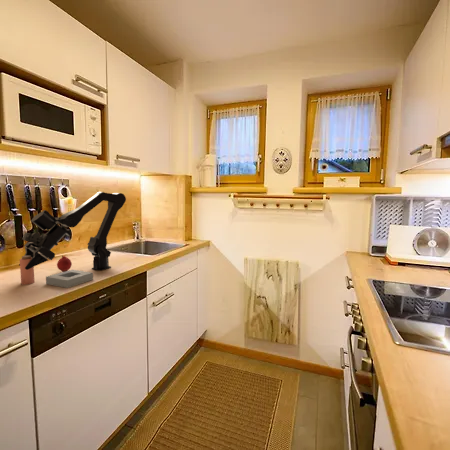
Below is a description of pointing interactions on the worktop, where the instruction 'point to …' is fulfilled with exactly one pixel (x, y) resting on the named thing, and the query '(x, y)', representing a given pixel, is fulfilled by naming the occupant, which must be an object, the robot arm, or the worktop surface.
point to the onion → (64, 264)
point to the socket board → (69, 278)
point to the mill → (26, 271)
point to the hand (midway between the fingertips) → (22, 267)
